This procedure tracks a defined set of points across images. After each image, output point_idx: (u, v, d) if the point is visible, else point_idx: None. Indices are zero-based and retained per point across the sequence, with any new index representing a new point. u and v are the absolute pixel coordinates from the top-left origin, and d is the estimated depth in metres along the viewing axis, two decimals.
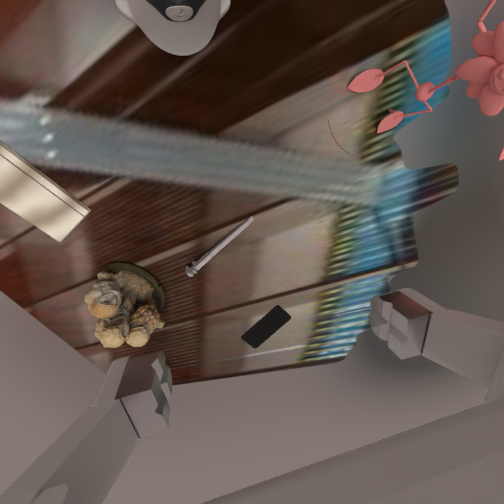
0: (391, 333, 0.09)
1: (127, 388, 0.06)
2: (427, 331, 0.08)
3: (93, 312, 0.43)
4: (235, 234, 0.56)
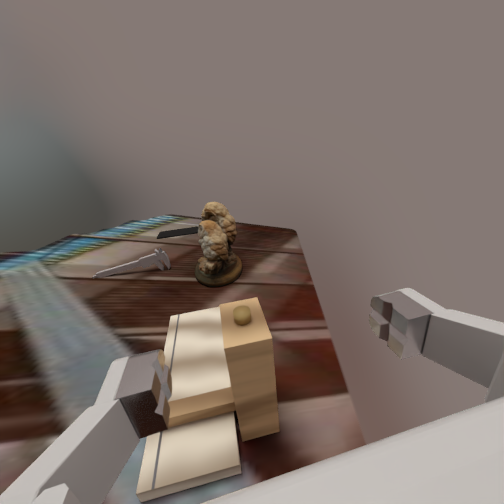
0: (391, 333, 0.09)
1: (127, 388, 0.06)
2: (427, 331, 0.08)
3: (212, 223, 0.50)
4: (112, 268, 0.62)
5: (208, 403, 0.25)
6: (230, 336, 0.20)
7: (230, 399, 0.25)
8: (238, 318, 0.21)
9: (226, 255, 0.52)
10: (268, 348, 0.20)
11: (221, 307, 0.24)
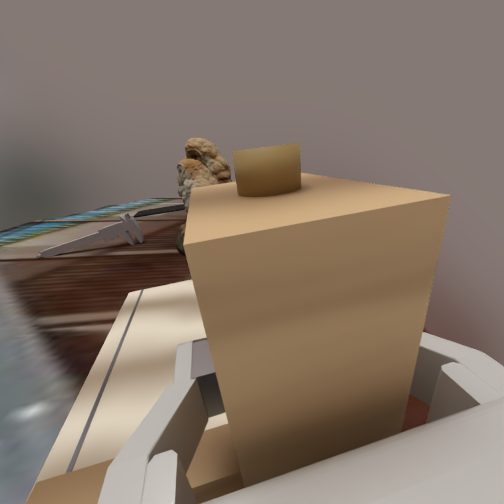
0: None
1: (201, 368, 0.07)
2: None
3: (196, 161, 0.34)
4: None
5: None
6: (222, 215, 0.04)
7: (232, 464, 0.09)
8: (256, 161, 0.05)
9: None
10: (419, 262, 0.04)
11: (196, 189, 0.08)
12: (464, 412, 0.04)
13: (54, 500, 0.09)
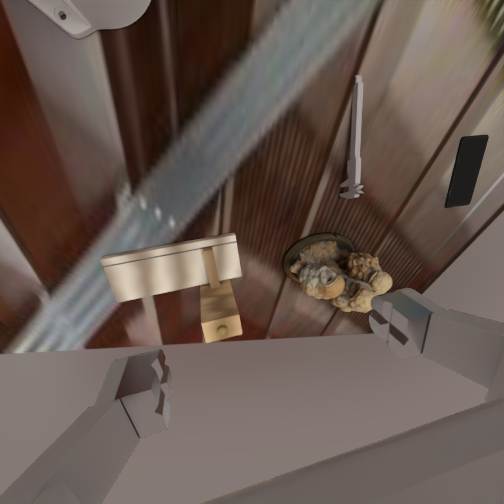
0: (391, 333, 0.09)
1: (127, 388, 0.06)
2: (427, 332, 0.08)
3: (329, 296, 0.40)
4: (359, 112, 0.41)
5: (210, 275, 0.45)
6: (209, 325, 0.37)
7: (212, 286, 0.46)
8: (218, 331, 0.37)
9: None
10: None
11: (235, 316, 0.38)
12: (464, 412, 0.04)
13: (209, 255, 0.43)
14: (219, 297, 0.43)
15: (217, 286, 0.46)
